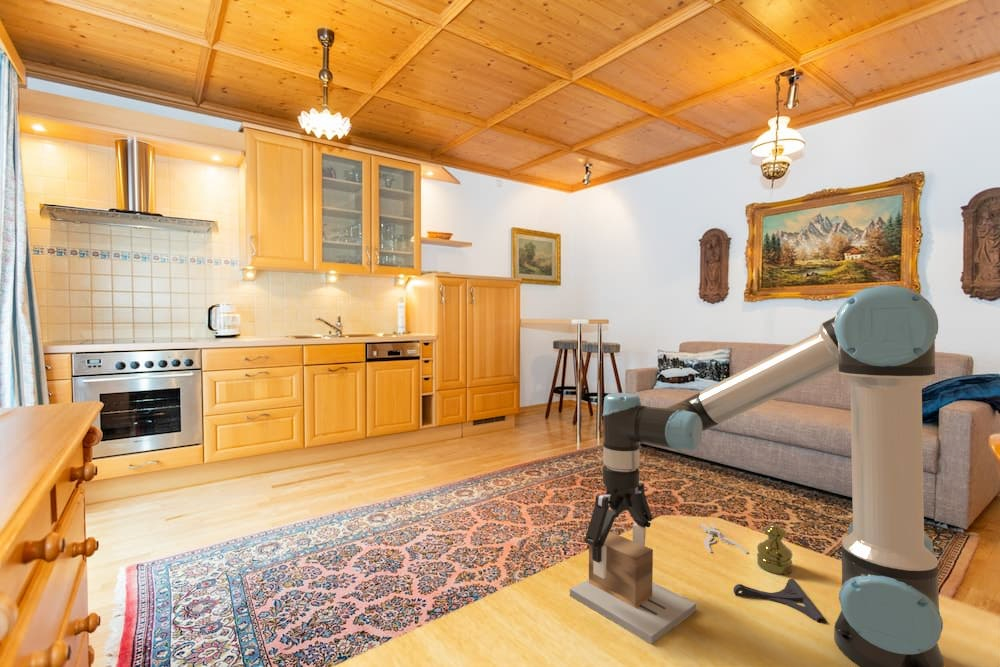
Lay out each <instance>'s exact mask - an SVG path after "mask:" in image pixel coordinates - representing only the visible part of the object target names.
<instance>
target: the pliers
mask: <svg viewBox="0 0 1000 667" xmlns="http://www.w3.org/2000/svg"><path fill="white" fill-rule="evenodd" d="M700 524H701V525H700V526H701V527H702V528H701V527H700V528H701V529H702V531H704V532H705V533H706V532H707V535H706V537H704V539H703V546H704V548H705V549H706V550H707V551H708V552H709V553H710V554H713V551H712V549H711V547H710V545H714V544H716V542H717V539H714V537H717V538H718V539H720V542H721V541H722V543H724V544H726V543H728V544H727V545H730V544H732V545H731V546H735V545H736V546H735V547H737V546H738V547H739V548H738V547H737V548H738V549H740V548H741V549H742V550H743V551H744V554H745V555H748V554H749V551H748V550H747V548H745V547H744V546H743V544H740V543H739V542H737V541H736V540H733V539H731V538H728V537H726V536H725V535H724V534H723V532H721V531H720V530H719V529H718V528H717V527H716V525H715V524H714V523H711V524H710V525H711V527H709V526H708V525H706V524H705V523H703V522H702V523H700ZM712 539H714V541H713V540H712ZM721 539H722V540H721ZM724 540H725V541H724ZM727 541H728V542H727ZM729 542H731V543H729ZM741 549H740V550H741ZM742 550H741V551H742ZM743 551H742V552H743Z"/></svg>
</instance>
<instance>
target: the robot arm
mask: <svg viewBox="0 0 1000 667" xmlns="http://www.w3.org/2000/svg"><path fill="white" fill-rule="evenodd" d="M938 333H939V319H938V315H937V313H936V310H935V308H934V307H933V305H932V304H931V303H930V302H929V300H928V299H927V298H926V297H924V296H923V294H920V292H917V291H915V290H912V289H911V288H907V287H905V286H900V285H894V284H893V285H892V284H891V285H886V284H881V285H877V286H869V287H867V288H863V289H861V290H859V291H857V292H855V293H853V294H851V296H849V297H848V298H847V299H845V301H844V302H843V303H842V304H841V305H840V308H839V309H838V310H837V312H836V316H834V317H831V318H830V319H828V320H827V321H824V322H822V323H821V324H820V326H819V329H818V331H817V332H815V333H813V334H811V335H809V336H807V337H805V338H803V339H802V340H799V341H798V342H795V343H794V344H792V345H790V346H787V347H786V348H784V349H782V350H779V351H778V352H776V353H774V354H772V355H770V356H767V357H766V358H764V359H762V360H761V361H758V362H757V363H756V362H755V363H754V364H752V365H750V366H748V367H747V368H744V369H742V370H740V371H738V372H737V373H735V374H733V375H731V376H729V377H727V378H725V379H723V380H721V381H719V382H716V383H715V384H713V385H712V386H710V387H707V388H705V389H703V390H701V391H699V392H698V393H695V394H694V395H692V396H690V397H688V398H686V399H683V400H681V401H680V402H677V403H676V404H672V405H671V406H668V407H666V408H665V407H664V408H663V407H656V406H655V407H653V406H647V405H646V406H645V405H643V404H642V403H641V399H640V398H641V397H640V396H639V394H638V395H637V394H635V393H631V392H630V393H629V392H611V393H608V394H607V395H605V396H604V400H603V410H602V411H603V413H602V419H603V420H602V422H603V426H602V427H603V429H602V430H603V441H602V444H603V447H602V448H603V449H602V450H603V452H602V454H603V455H602V463H603V467H602V483H603V484H604V486H605V488H606V492H605V494H599V493H597V494H596V495H595V502H594V508H593V512H592V514H591V518H590V520H589V524H588V527H587V531H586V535H585V537H584V543H586V544H588V545H589V544H590V545H592V559H593V574H595V575H597V576H599V577H601V578H603V579H604V578H606V546H605V545H604V543H605V540H606V538H607V536H608V534H609V531H610V532H611V528H612V527H613V524H614V522H615V519H616V518H619V516H620V514H621V513H623V512H624V511H628V512H629V514H630V516H631V518H632V519H633V521H634V523H633V524H632V541H634V542H636V543H638V544H641V545H643V546H646V529H647V528H650V527H651V524H652V523H651V522H652V520H653V516H652V513H651V512H652V511H651V509H650V506H649V503H648V500H647V497H646V494H645V484H644V483H641V482H640V469H639V467H640V463H641V462H640V444H647V445H652V446H658V447H664V448H669V449H672V450H676V451H695V450H696V449H698V448H699V446H700V443H701V441H702V436H703V432H705V431H707V430H709V429H711V428H713V427H716V426H718V425H719V424H721V423H723V422H726V421H728V420H730V419H733V418H735V417H737V416H740V415H741V414H744V413H746V412H748V411H750V410H752V409H754V408H757V407H759V406H762V405H763V404H766V403H769V402H770V401H773V400H774V399H776V398H777V399H778V398H779V397H782V396H783V395H786V394H788V393H790V392H792V391H795V390H796V389H799V388H801V387H803V386H805V385H808V384H810V383H812V382H814V381H817V380H818V379H821V378H823V377H825V376H827V375H829V374H832V373H834V372H836V371H837V372H838V374H839V375H840V376H841V377H843V378H844V379H845V381H847V382H848V383H849V385H850V386H849V387H850V388H849V389H850V428H851V429H850V430H851V431H850V440H851V489H852V491H851V492H852V495H851V496H852V521H850V522H849V526H848V531H847V532H846V534H847V535H846V536H844V537H842V539H841V587H840V590H839V593H838V600H839V604H840V609H841V611H840V613H839V614H838V617H837V619H836V621H835V624H834V630H833V631H834V632H833V634H834V635H833V638H834V642H835V644H836V646H837V647H838V649H839V650H840V651H841V652H842V653H843V655H844V656H846V657H847V658H848V659H850V660H851V661H852V662H853V663H855V664H857V665H859V667H944V666H945V665H944V664H945V663H944V659H943V655H942V652H941V650H940V647H939V644H938V642H939V641H940V638H941V636H942V635H941V634H942V632H943V629H944V628H943V627H944V622H943V621H944V620H943V617H942V616H941V613H940V602H939V601H940V597H939V596H940V595H939V594H940V592H939V560H938V558H937V556H936V555H935V554H936V553H935V551H934V544H933V540H932V539H931V538H930V537H929V536H928V535H927V534H925V526H924V525H925V522H924V521H925V518H924V516H925V514H924V511H925V509H924V458H923V457H924V452H923V451H924V449H923V447H924V446H923V441H924V440H923V393H922V392H923V390H922V388H923V386H924V385H925V384H927V383H928V382H929V381H931V380H932V379H934V378H935V377H936V338H937V335H938ZM599 539H600V540H599Z"/></svg>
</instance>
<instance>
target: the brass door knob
mask: <svg viewBox="0 0 1000 667" xmlns="http://www.w3.org/2000/svg"><path fill="white" fill-rule="evenodd" d="M762 531H763V533H765V534H767V536H768V538H767V539H765V540H764V541H760V542H759V543H758V544H757V546H756V548H757V551H758V552H757V554H756V555H757V556H756V557H757V560H756V561H757V562H756V563H757V565H758V567H760V568H761V569H762V568H763V569H762V570H764V571H767V572H769V573H771V574H776V573H777V574H776V575H787V574H790V573H791V572H792V571H793V560H792V558H793V555H794V554H793V551H792V549H790V548H789V547H788V546H786V544H785V543H783V541H782V539H783V538H785V537H786V536H787V535H788V531H786V529H784V528H783V527H780V526H779V525H777V524H771V525H769V524H768V525H765V526H764V527H763V530H762Z"/></svg>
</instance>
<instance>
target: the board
mask: <svg viewBox="0 0 1000 667" xmlns="http://www.w3.org/2000/svg"><path fill="white" fill-rule="evenodd" d="M569 596H570V597H571V596H572V597H571V598H573V599H575V600H577V602H580V603H582V605H585V606H586V607H588V608H589V609H592V610H594V611H595V612H597V613H598V614H600V615H602V616H603V617H605V618H606V619H608V620H609V621H612V622H614V623H615V624H616V625H618V626H620V627H621V628H623V629H624V630H627V631H629V632H630V633H632V634H633V635H635V636H637V637H638V638H640V639H642V640H643V641H645V642H647V643H649V644H650V645H652V644H653V645H654V643H655V642H657V641H658V640H659V639H660V638H662V637H663V636H664V635H666V634H667V633H668V632H670V631H671V630H672V629H673V628H675V627H677V626H678V625H679V624H681V623H682V622H683V621H685V620H686V619H687V618H688V617H690V616H691V615H693V614H694V613H695V612H696V611H697V602H694V601H692V600H690V599H687V598H686V597H684V596H683V595H679V594H677V593H675V592H673V591H671V590H670V589H667V588H665V587H663V586H661V585H659V584H657V583H655V582H653V581H652V597H651V598H649V599H648V600H646V601H645V602H643V603H642V604H640V605H639V606H637V607H636V608H635V607H633V606H631V605H630V604H628V603H626V602H624V601H622V600H620V599H618V598H617V597H615V596H613V595H611V594H609V593H607V592H606V591H604V590H602V589H600V588H598V587H596V586H594V585H593V584H591V583H589V578H588V579H586V580H584V581H582V582H580V583H578V584H576V585H574V586H572V587H571V588H569Z"/></svg>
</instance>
